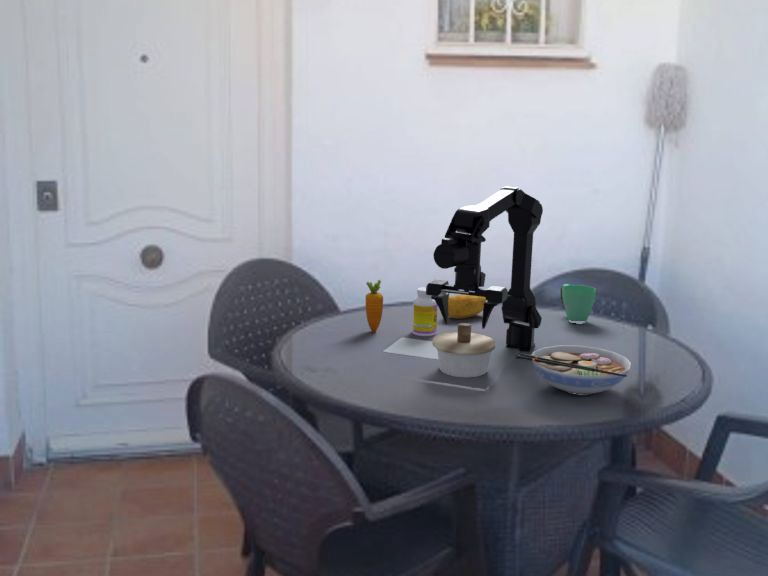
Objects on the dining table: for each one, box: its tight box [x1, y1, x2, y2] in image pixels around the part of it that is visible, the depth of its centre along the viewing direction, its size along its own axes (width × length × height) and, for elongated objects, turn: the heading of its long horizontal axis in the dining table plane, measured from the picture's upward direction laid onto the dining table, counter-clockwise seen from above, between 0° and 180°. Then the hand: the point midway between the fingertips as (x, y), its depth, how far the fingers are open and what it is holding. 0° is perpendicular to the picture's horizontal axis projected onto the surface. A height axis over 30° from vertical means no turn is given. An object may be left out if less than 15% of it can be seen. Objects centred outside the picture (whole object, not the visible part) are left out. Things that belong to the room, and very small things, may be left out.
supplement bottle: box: [411, 286, 438, 337], centre depth 253 cm, size 7×7×13 cm
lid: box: [432, 322, 496, 355], centre depth 222 cm, size 15×15×5 cm
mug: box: [560, 283, 598, 322], centre depth 272 cm, size 15×10×10 cm
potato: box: [448, 294, 487, 319], centre depth 272 cm, size 7×14×7 cm, turn 118°
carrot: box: [365, 279, 384, 333], centre depth 253 cm, size 5×5×15 cm
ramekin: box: [437, 349, 493, 379], centre depth 224 cm, size 13×13×7 cm
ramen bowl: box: [515, 344, 632, 395], centre depth 213 cm, size 25×23×8 cm
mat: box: [382, 336, 438, 360], centre depth 240 cm, size 18×14×1 cm
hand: (464, 326), depth 222 cm, fingers open, 9 cm apart
